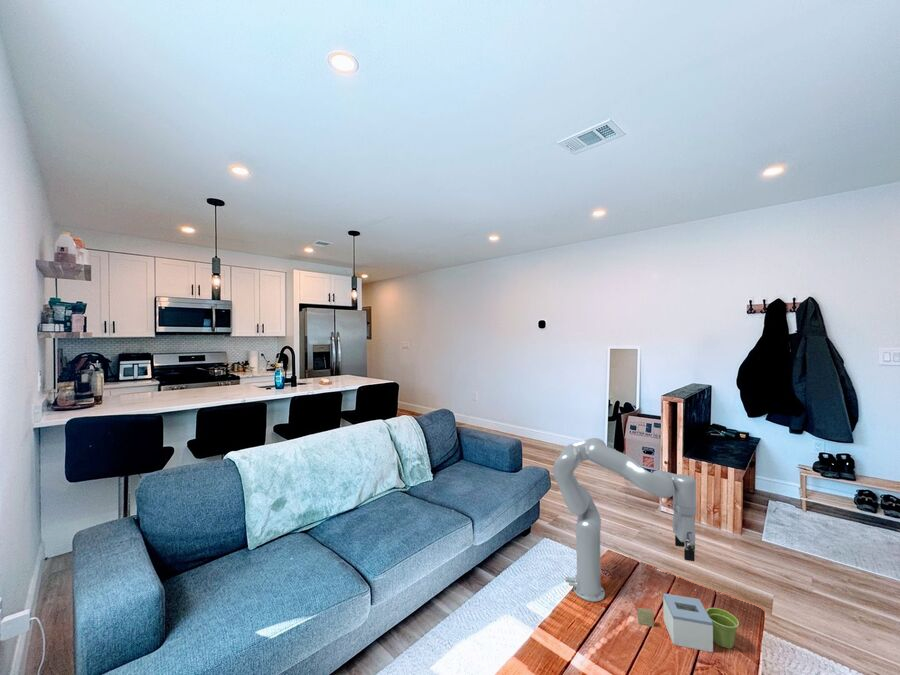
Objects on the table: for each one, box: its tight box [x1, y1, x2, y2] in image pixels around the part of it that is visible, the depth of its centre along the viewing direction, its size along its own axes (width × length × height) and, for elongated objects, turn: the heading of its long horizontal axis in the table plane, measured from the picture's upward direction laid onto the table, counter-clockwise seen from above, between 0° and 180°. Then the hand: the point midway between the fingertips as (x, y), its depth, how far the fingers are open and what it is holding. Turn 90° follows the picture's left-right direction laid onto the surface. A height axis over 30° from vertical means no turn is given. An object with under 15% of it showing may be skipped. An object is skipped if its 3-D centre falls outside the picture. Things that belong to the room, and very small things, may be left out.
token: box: [637, 607, 655, 628], centre depth 138 cm, size 5×2×5 cm, turn 74°
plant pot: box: [705, 607, 740, 649], centre depth 130 cm, size 9×9×9 cm
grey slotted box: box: [662, 593, 714, 653], centre depth 132 cm, size 12×12×10 cm
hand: (684, 553), depth 141 cm, fingers open, 9 cm apart
